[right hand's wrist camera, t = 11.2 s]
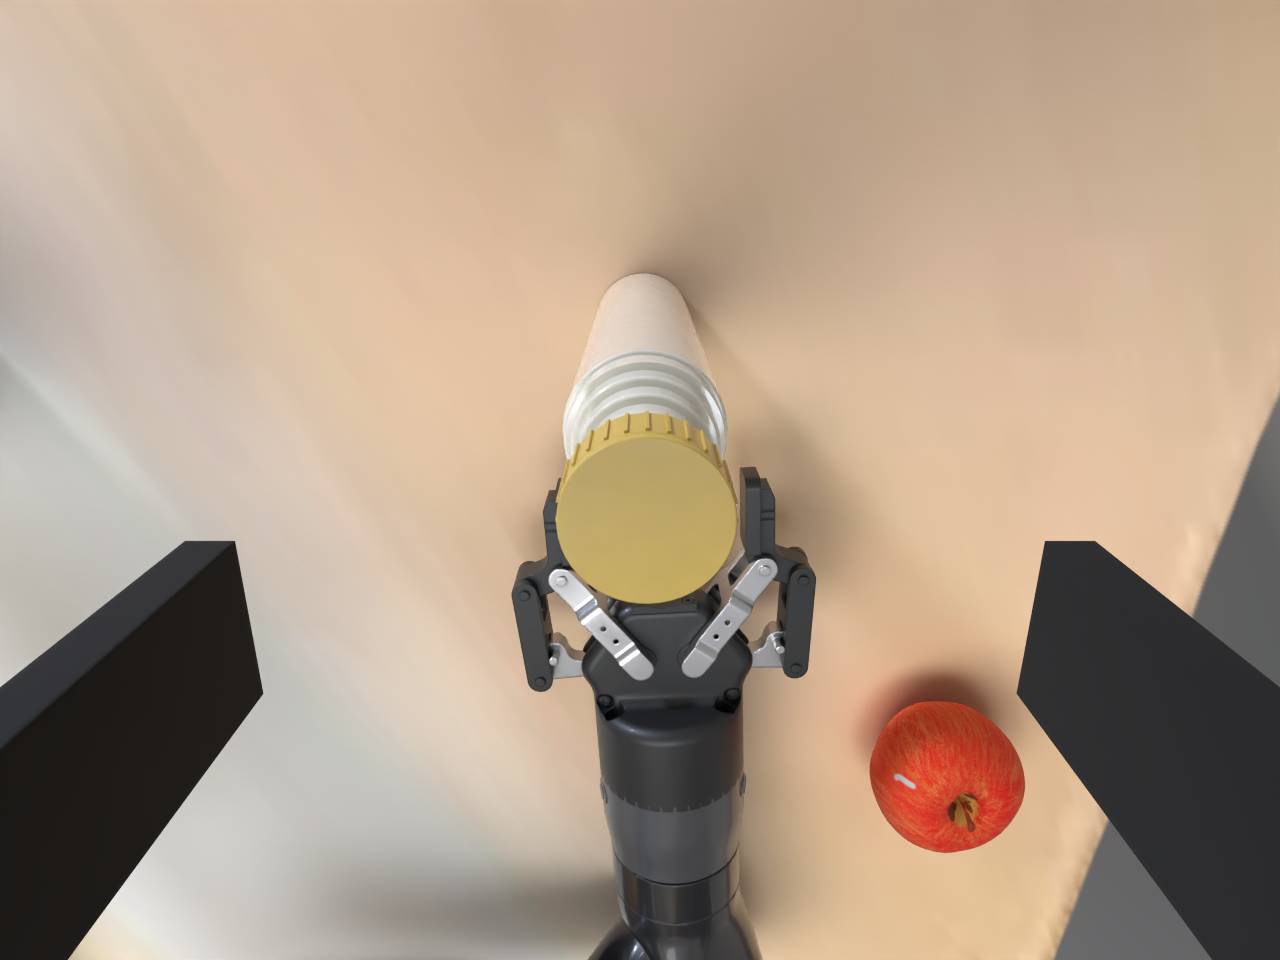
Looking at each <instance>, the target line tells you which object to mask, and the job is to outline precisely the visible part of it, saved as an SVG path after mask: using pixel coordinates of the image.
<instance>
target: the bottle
mask: <svg viewBox="0 0 1280 960" xmlns="http://www.w3.org/2000/svg"><path fill="white" fill-rule="evenodd" d="M645 410H649V413H657V414H664V415H665V413H669V416H671V417H675V418H677V419H680V420H682V421H684V419H686V420H688V423H689V424H690V425H692V426H693V427H695V428H696V429H698V430H699V431H701V430H703V431H704V432H705V436H706V437H707V438H708V439H709V440H710V441H711V443H712V444H713V445H714V444H716V445H717V446H718V450H719V453H720V457H721V458H722V460H723V459H724V456H725V451H726V441H727V417H726V412H725V407H724V405H723V402H722V399H721V396H720V394H719V391H718V388H717V386H716V383H715V380H714V377H713V375H712V372H711V369H710V367H709V364H708V361H707V359H706V356H705V353H704V350H703V348H702V345H701V342H700V340H699V337H698V334H697V332H696V329H695V326H694V324H693V321H692V318H691V315H690V313H689V310H688V307H687V305H686V302H685V300H684V298H683V296H682V294H681V293H680V292H679V290H678V289H677V288H676V287H675V286H674V285H673V284H672V283H670V282H669V281H667V280H666V279H664V278H662V277H660V276H656V275H653V274H644V273H641V274H633V275H629V276H627V277H624V278H622V279H620V280H619V281H617V282H616V283H614V284H613V285H612V286H611V287H610V288H609V289H608V290H607V292H606V293H605V294H604V296H603V298H602V300H601V302H600V305H599V308H598V311H597V314H596V317H595V320H594V323H593V326H592V329H591V332H590V335H589V338H588V341H587V344H586V347H585V350H584V353H583V356H582V359H581V362H580V365H579V368H578V371H577V374H576V377H575V380H574V384H573V387H572V390H571V393H570V396H569V399H568V402H567V405H566V409H565V412H564V419H563V439H564V448H565V454H566V458H567V460H568V459H569V460H571V457H572V455H573V454H574V451H575V447H576V444H577V443H579V444H581V442H582V441H583V440H584V439H585V438H586V437H587V436H588V434H589V431H590V430H591V429H593V431H594V430H595V429H597V428H598V427H599V426H601V425H603V424H605V422H606V420H607V419H610V420H613V419H615V418H618V417H621V416H625V413H627V412H628V413H629V414H636V413H645Z"/></svg>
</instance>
